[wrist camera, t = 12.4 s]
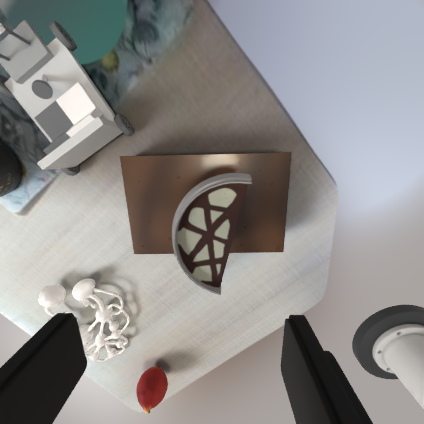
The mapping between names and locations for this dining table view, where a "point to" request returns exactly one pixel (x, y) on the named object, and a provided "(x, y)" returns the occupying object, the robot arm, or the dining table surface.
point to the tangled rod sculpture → (84, 290)
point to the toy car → (57, 96)
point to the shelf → (189, 178)
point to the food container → (208, 227)
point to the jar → (8, 170)
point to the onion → (151, 388)
